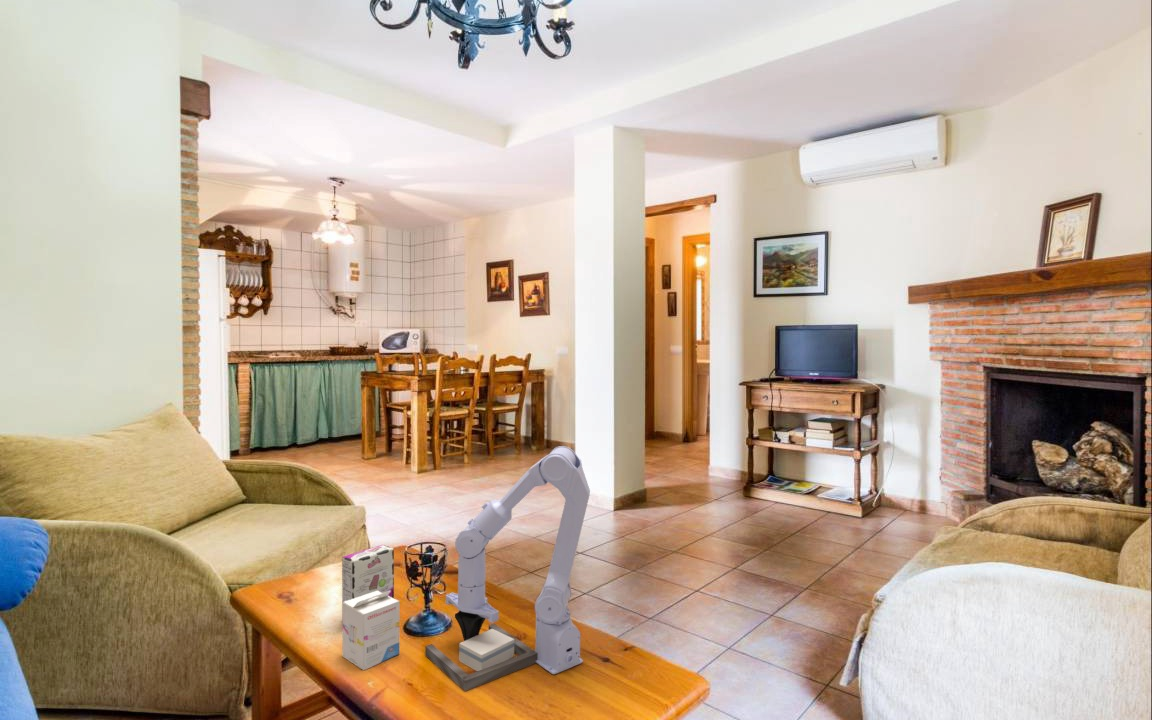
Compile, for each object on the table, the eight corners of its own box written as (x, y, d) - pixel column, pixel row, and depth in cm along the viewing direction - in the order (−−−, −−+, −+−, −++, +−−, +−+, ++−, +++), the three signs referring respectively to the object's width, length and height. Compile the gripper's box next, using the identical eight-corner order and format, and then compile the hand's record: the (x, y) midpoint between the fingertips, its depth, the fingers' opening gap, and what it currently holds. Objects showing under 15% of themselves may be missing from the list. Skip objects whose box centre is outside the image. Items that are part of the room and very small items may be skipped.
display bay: (537, 662, 126) (537, 653, 126) (464, 691, 115) (465, 680, 115) (494, 632, 139) (494, 623, 139) (425, 655, 128) (425, 645, 128)
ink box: (377, 641, 133) (378, 581, 133) (400, 654, 128) (401, 591, 128) (341, 657, 127) (341, 593, 126) (363, 671, 121) (364, 605, 121)
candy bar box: (382, 609, 149) (382, 543, 149) (394, 615, 146) (395, 548, 146) (340, 626, 140) (341, 555, 140) (352, 632, 137) (353, 560, 137)
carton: (514, 657, 128) (514, 639, 128) (481, 675, 121) (481, 655, 121) (491, 646, 133) (492, 628, 133) (458, 662, 126) (459, 643, 126)
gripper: (509, 585, 128) (508, 648, 129) (463, 568, 137) (462, 628, 138) (485, 596, 123) (483, 662, 123) (438, 578, 132) (437, 639, 132)
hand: (470, 645), depth 130 cm, fingers closed
